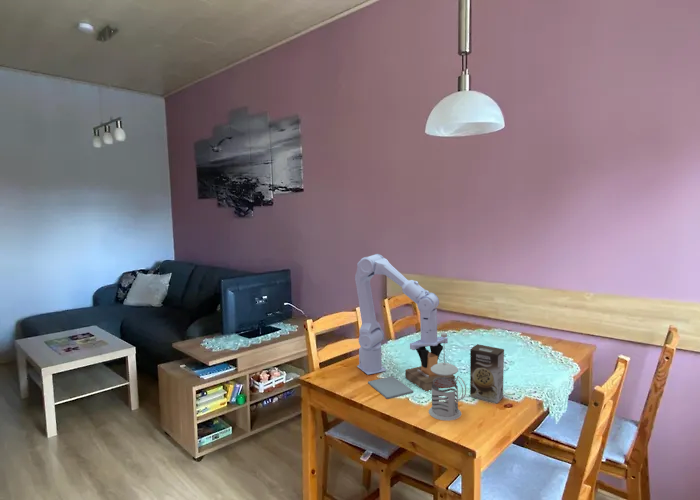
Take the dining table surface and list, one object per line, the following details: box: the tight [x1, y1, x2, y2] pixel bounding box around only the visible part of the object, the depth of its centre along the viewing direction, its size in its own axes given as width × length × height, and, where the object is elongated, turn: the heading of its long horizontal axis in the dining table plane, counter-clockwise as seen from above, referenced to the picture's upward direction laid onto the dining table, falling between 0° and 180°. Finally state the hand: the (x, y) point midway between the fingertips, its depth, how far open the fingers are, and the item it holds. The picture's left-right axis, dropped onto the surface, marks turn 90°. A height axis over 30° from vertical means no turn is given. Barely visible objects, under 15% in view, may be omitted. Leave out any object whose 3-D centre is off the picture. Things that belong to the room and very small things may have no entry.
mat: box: [367, 375, 414, 400], centre depth 151 cm, size 14×10×1 cm
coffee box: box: [469, 343, 505, 404], centre depth 141 cm, size 9×6×16 cm
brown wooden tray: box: [404, 365, 456, 392], centre depth 156 cm, size 13×12×4 cm
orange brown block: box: [420, 351, 439, 377], centre depth 155 cm, size 5×4×9 cm
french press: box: [428, 331, 467, 422], centre depth 131 cm, size 10×12×25 cm
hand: (429, 365), depth 155 cm, fingers closed on orange brown block, 3 cm apart
